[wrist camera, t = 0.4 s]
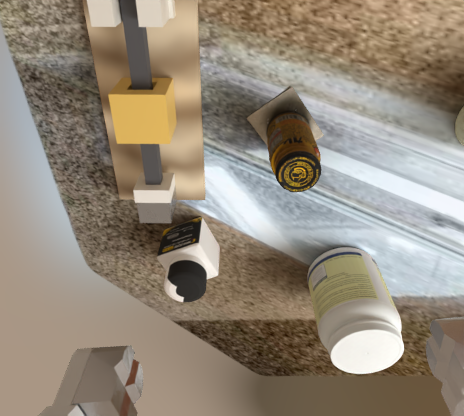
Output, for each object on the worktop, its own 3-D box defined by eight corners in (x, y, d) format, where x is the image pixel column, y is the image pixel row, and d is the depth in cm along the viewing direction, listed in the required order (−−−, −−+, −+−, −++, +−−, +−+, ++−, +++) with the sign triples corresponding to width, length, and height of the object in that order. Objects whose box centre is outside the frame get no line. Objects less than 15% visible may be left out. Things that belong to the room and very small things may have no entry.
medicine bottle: (202, 215, 63) (195, 267, 53) (220, 246, 67) (217, 300, 57) (163, 229, 65) (149, 281, 55) (183, 258, 68) (174, 313, 58)
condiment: (279, 161, 57) (288, 208, 48) (246, 117, 54) (248, 158, 44) (323, 134, 55) (342, 177, 45) (292, 85, 51) (305, 121, 41)
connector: (145, 180, 58) (136, 202, 53) (174, 180, 58) (169, 203, 53) (147, 199, 60) (139, 222, 55) (176, 199, 60) (171, 223, 55)
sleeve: (122, 77, 49) (108, 94, 44) (173, 78, 49) (165, 94, 44) (128, 122, 52) (116, 143, 47) (176, 123, 52) (170, 144, 47)
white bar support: (100, -20, 43) (80, -13, 38) (173, -20, 43) (163, -13, 38) (106, 15, 45) (87, 26, 40) (175, 15, 45) (166, 27, 40)
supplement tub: (293, 281, 71) (307, 364, 57) (331, 233, 65) (357, 314, 51) (348, 301, 74) (374, 386, 60) (390, 258, 68) (430, 341, 54)
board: (81, -21, 44) (78, -20, 43) (196, -20, 44) (195, -19, 43) (121, 194, 61) (119, 199, 60) (205, 195, 61) (204, 199, 60)
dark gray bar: (123, -12, 42) (118, -10, 40) (141, -12, 42) (137, -10, 40) (150, 194, 56) (148, 202, 55) (164, 194, 56) (162, 202, 55)
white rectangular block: (140, 172, 56) (133, 190, 52) (174, 172, 56) (169, 190, 52) (142, 184, 57) (135, 202, 53) (175, 184, 57) (170, 203, 53)
